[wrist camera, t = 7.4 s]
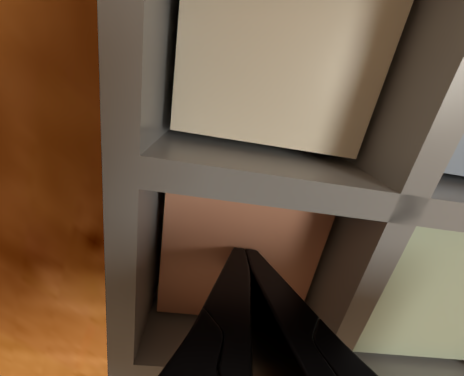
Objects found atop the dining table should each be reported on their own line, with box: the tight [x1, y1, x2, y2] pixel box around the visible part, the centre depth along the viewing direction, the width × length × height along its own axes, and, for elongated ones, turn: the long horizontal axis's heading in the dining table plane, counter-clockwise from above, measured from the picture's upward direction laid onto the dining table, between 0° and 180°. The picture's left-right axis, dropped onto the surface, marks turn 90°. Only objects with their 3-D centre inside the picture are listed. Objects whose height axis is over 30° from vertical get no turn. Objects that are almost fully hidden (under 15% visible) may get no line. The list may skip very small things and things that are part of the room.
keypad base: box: [97, 0, 464, 376], centre depth 9 cm, size 17×19×6 cm
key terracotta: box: [157, 193, 336, 315], centre depth 10 cm, size 6×6×3 cm
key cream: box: [170, 0, 414, 159], centre depth 8 cm, size 6×6×3 cm
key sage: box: [353, 226, 464, 360], centre depth 10 cm, size 6×6×3 cm
